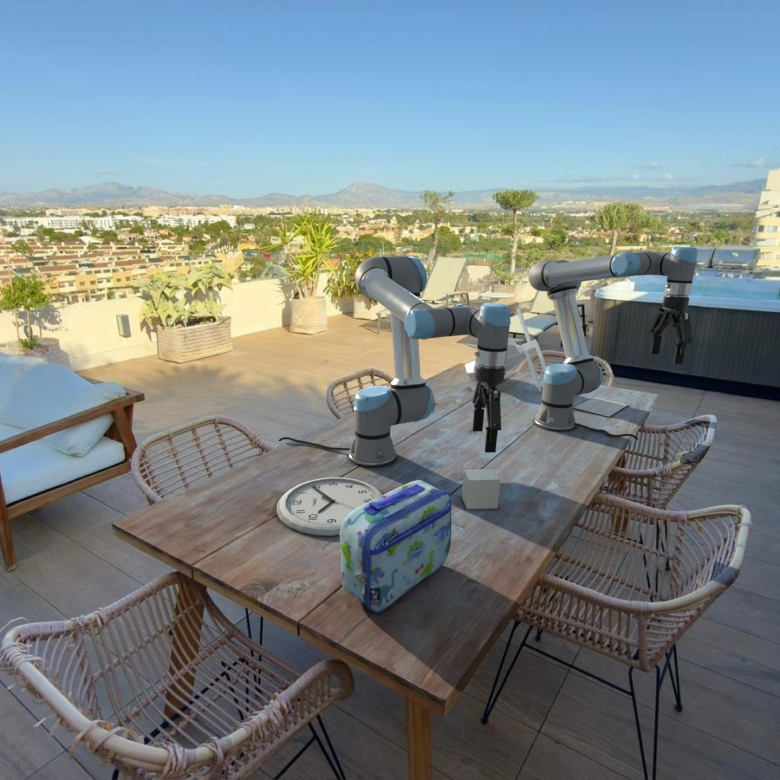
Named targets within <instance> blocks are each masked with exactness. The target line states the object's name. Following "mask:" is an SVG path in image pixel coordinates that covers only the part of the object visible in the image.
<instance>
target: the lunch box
mask: <svg viewBox="0 0 780 780" xmlns="http://www.w3.org/2000/svg"><path fill="white" fill-rule="evenodd" d="M383 494H384V495H382V496H380V497H378V498H376V499H374V500H372V501H370V502H368V503H366V504H364V505H362V506H360V507H358V508H356V509H354V510H353V511H351V512H350V513H349V514H348V515H347V516H346V518H345V519H344V521H343V523H342V526H341V530H340V535H339V551H340V574H341V576H340V577H341V585H342V588H343V589H342V590H343V591H344V593H346V594H348V595H350V596H352V597H353V598H355V599H357V600H358V601H359V602H361V603H362V604H364V605H365V606H366V608H367V609H369V610H370V611H371V612H374V613H381V612H384V611H385V610H386V609H387V608H389V607H390V606H391V605H392V604H393V603H395V602H396V601H397V600H399V599H400V598H401V597H402V596H404V595H405V594H407V593H408V592H410V591H411V590H412V589H413V588H415V587H416V586H417V585H418V584H419V583H420V582H421V581H423V580H425V579H426V578H427V577H429V576H430V575H432V574H434V573H435V572H436V571H438V570H439V569H440V568H441V567H442V566H443V565H444V563H445V562H446V560H447V558H448V556H449V553H450V550H451V549H450V548H451V545H452V543H451V542H452V497H451V494H450V492H449V491H448V490H446V489H438V488H437V487H435V486H434V485H431V484H429V483H427V482H426V481H424V480H421V479H416V480H413V481H410V482H408V483H405V484H403V485H401V486H399V487H397V488H394V489H393V490H390V491H388V492H387V493H383Z"/></svg>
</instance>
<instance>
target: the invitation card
mask: <svg viewBox="0 0 780 780" xmlns="http://www.w3.org/2000/svg"><path fill="white" fill-rule="evenodd" d="M628 406H629V404H627V403H623V402H618V401H614V400H609V399H605V398H601V397H596V396H593V397H592V398H590V399H588V400H586V401H584V402H582V403H580V404H578V405H575V406H574V407H573V409H575V410H581V411H584V412H587V413H593V414H596V415H600V416H604V417H608V418H609V417H611V416H613V415H614V414H616V413H617V412H619V411H621V410H623V409H624V408H626V407H628Z"/></svg>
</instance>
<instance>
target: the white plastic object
mask: <svg viewBox="0 0 780 780" xmlns="http://www.w3.org/2000/svg"><path fill="white" fill-rule="evenodd" d="M516 312H517V315H518V318H519V322H520V325H521V328H522V331H523V333H524V337H525V339H526V340H525V341H526V342H524V343H523V344H517V343H516V340H515V339H514V338H510V339H509V338H508V346H507V359H506V365H504V367H505V376H506V375H507V372H509V371H511V370H512V369H513V368H515V367H516V366H517V365H519V364H521V363H522V362H524V361H525V360H526V362H527V365H528V368H529V372H530V375H531V378H532V380H533V383H534V386H535V387H536V389H537V390H538V391H539V392H540V393H541V391H542V388H541V384H540V382H539V378H538V375H537V372H536V369H535V366H534V363H533V361H532V358H531V356H533V355H536V354H537V356H538V360H539V362H540V366H541V369H542V371H543V374H545V370H546V368H547V367H548V366H547V364H546V361H545V358H544V355H543V352H542V350H541V346H540V344H539V342H538V340H537V339H532V338H531V336H530V335H531V334H530V332H529V330H528V327H527V323H526V320H525V318H524V315H523V311H522V310H521V308H520V307H517V308H516ZM476 358H477V356H475V358H474V360H473V361H471V362H468V363H466V364H464V367H465V370H466V371H465V372H466V374H467V375H468V377H469V379H471V380H474V379H475V367H476V365H477V364H478V363H477V362H476Z"/></svg>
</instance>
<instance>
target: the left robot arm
mask: <svg viewBox="0 0 780 780" xmlns="http://www.w3.org/2000/svg"><path fill="white" fill-rule="evenodd" d="M354 281H355V286H356V288H357V290H358V291H359V292H360V293H361V294H362V296H364V298H367V299H369V300H375V301H376V302H377V303H379V304H380V305H381V306H382V307H384V308H385V309H386V310H387V311H389V312H390V324H391V325H390V326H391V328H390V329H391V341H392V353H393V354H392V355H393V370H394V371H393V372H394V378H393V380H392V381H391V382H390V387H389V386H387V385H371V386H366V387H364V388H362V389H360V390H358V391H357V392H356V393H355V396H354V404H353V409H354V410H353V411H354V436H353V439H352V442H351V445H350V447H333V446H327V445H324V444H320V443H315V442H311V441H307V440H301V439H300V440H299V439H296V438H292V437H289V436H283V437H280V438H279V439H278V440H277V441H278V442H281V441H284V440H289V441H292V442H296V443H300V444H306V445H311V446H315V447H319V448H322V449H327V450H331V451H349V452H348V457H349V460H350V461H351V462H352V463H354V464H356V465H358V466H362V467H370V468H377V467H383V466H387V465H389V464H391V463H393V462H394V461H395V460H396V449H395V445H394V443H393V440H392V437H391V427H392V426H397V425H402V424H403V425H404V424H407V423H413V422H414V423H417V422H420V421H423V420H426V419H428V418H429V417H430V415H431V414H432V412H433V410H434V406H435V403H434V401H435V398H434V397H435V396H434V393H433V389H432V388H431V387H430V386H429V385H427V382H426V380H425V378H423V377H422V375H421V359H420V342H419V340H423V341H424V340H429V339H437V338H438V339H439V338H447V337H458V336H470V337H473V338H476V339H477V344H476V351H475V352H474V356H475V358H476V356H477V358H476V362H477V363H478V364H477V365H476V367H475V378H474V379H475V380H477V381H476V386H475V390H474V394H473V397H472V402H471V403H472V404H473V419H472V430H471V431H472V432H484V431H483V429H484V420H485V419H484V418H485V412H486V419H487V420H486V421H487V426H486V427H485V441H484V442H485V444H484V453H485V454H487V453H488V454H489V453H493V454H494V453H496V452H497V444H498V443H497V442H498V433H499V432H498V431H502V412H501V411H502V409H501V395H502V392H501V390H499V389H498V387H497V385H498V384H499V383H502V382H503V381H505V377H506V375H505V367H504V365H506V359H507V346H508V340H509V338H510V337H509V335H510V327H511V313H512V310H511V307H510V306H509V305H508V304H505V303H498V302H484V303H482V304H481V305H480V307H478V306H474V305H471V304H470V303H469V304H468V303H456V304H454V306H452V307H451V306H450V307H433V306H431V305H430V304H428V303H427V302H425V301H423V299H421V293H422V292H424V291H425V289H426V285H427V283H428V273H427V269H426V267H425V265H424V263H423V262H422V261H421V260H420V259H419V258H418V257H416V256H409V255H408V256H407V255H397V256H396V255H394V256H392V255H391V256H390V255H389V256H372V257H369V258H367V259H365V260H363V261H362V262H361V263H360V264H359V265H358V267H357V269H356V271H355V275H354ZM485 409H486V411H485Z"/></svg>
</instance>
